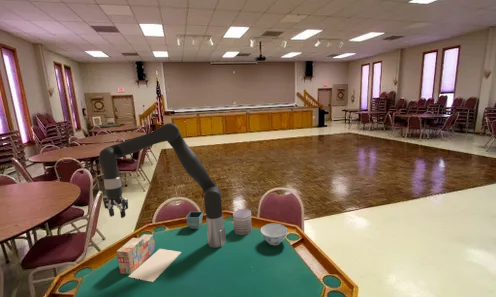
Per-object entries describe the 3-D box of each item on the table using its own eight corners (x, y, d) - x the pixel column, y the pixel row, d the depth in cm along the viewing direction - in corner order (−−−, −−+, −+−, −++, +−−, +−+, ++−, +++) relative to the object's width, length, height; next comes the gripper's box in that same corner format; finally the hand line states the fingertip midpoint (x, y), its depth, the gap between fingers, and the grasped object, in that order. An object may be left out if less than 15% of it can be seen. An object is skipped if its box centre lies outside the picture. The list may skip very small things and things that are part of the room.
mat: (181, 252, 140) (181, 252, 140) (152, 282, 117) (152, 281, 117) (159, 249, 144) (159, 248, 144) (128, 277, 122) (128, 276, 121)
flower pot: (191, 224, 173) (190, 211, 171) (203, 224, 172) (202, 211, 170) (186, 230, 164) (185, 217, 162) (200, 230, 163) (199, 217, 162)
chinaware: (285, 234, 153) (284, 222, 152) (289, 248, 138) (289, 235, 137) (260, 236, 153) (259, 224, 151) (262, 250, 138) (261, 237, 137)
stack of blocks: (145, 249, 145) (143, 228, 143) (155, 249, 144) (153, 229, 142) (119, 273, 125) (116, 250, 122) (131, 274, 123) (127, 251, 121)
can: (255, 229, 161) (254, 211, 159) (243, 237, 153) (242, 218, 151) (242, 224, 169) (241, 207, 167) (230, 231, 160) (229, 213, 158)
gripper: (130, 184, 131) (134, 214, 134) (108, 183, 135) (112, 212, 138) (118, 189, 124) (123, 221, 127) (96, 187, 128) (100, 218, 131)
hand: (117, 216), depth 133 cm, fingers open, 6 cm apart
